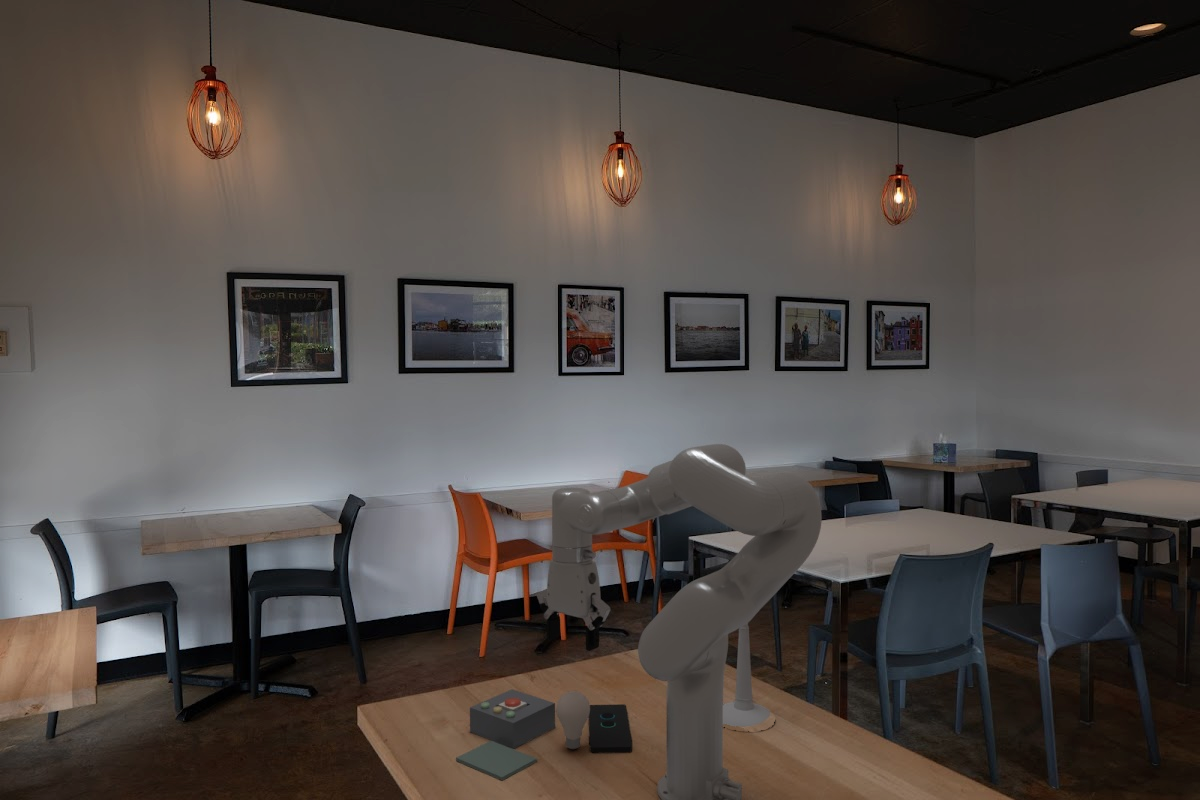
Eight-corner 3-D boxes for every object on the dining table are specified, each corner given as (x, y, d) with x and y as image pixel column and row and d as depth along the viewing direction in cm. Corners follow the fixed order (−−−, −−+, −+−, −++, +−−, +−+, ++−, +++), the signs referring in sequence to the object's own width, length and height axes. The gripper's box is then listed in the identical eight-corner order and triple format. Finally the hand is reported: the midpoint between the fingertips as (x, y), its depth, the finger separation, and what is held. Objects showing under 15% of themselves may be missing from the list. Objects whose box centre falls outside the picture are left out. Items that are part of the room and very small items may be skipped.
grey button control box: (555, 727, 168) (555, 699, 168) (513, 748, 158) (513, 718, 158) (512, 712, 175) (512, 685, 175) (470, 732, 166) (469, 703, 166)
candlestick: (699, 718, 172) (699, 574, 171) (739, 701, 181) (739, 564, 180) (748, 738, 163) (749, 586, 162) (788, 720, 171) (788, 575, 170)
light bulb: (586, 758, 155) (586, 700, 154) (552, 755, 156) (551, 697, 155) (593, 742, 161) (593, 686, 161) (560, 739, 162) (560, 684, 162)
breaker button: (526, 717, 167) (526, 700, 167) (512, 724, 164) (512, 706, 164) (512, 712, 170) (512, 695, 170) (498, 719, 167) (498, 701, 166)
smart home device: (626, 703, 177) (633, 746, 157) (626, 711, 177) (633, 755, 157) (587, 704, 177) (589, 746, 157) (587, 712, 177) (589, 755, 157)
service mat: (536, 761, 153) (536, 758, 153) (502, 780, 146) (502, 777, 146) (491, 743, 161) (491, 740, 161) (456, 760, 154) (456, 757, 154)
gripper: (620, 556, 155) (621, 647, 155) (551, 544, 165) (551, 630, 166) (595, 564, 149) (596, 658, 149) (525, 551, 159) (525, 639, 160)
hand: (572, 643), depth 158 cm, fingers open, 9 cm apart
